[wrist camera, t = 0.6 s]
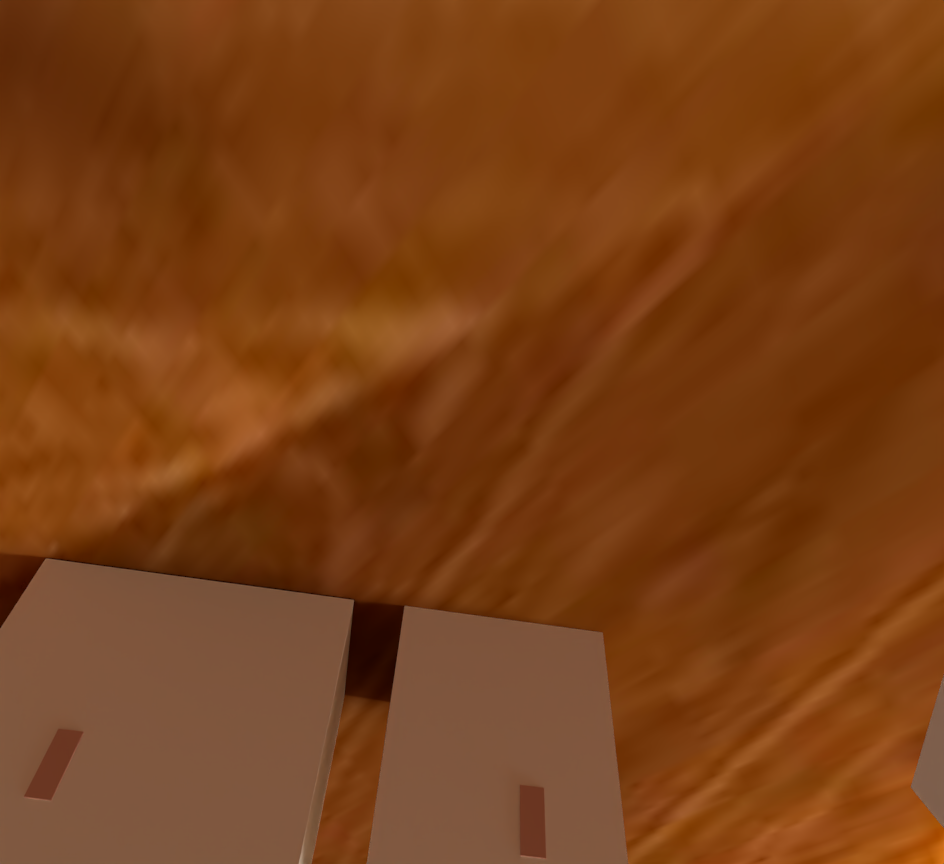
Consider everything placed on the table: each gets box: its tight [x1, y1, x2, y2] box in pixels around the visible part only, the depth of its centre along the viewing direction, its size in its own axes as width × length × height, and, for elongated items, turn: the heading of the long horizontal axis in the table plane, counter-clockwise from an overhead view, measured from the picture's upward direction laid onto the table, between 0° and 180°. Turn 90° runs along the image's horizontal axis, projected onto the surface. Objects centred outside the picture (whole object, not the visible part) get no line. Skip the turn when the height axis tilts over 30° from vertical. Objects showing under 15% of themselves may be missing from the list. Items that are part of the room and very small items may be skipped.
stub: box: [367, 606, 628, 864], centre depth 31 cm, size 6×8×12 cm
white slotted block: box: [0, 558, 354, 864], centre depth 31 cm, size 6×12×12 cm, turn 81°
